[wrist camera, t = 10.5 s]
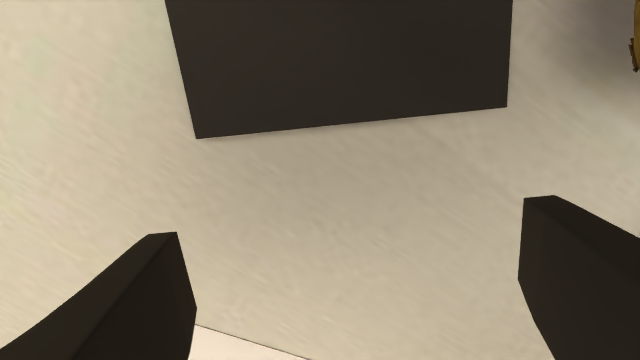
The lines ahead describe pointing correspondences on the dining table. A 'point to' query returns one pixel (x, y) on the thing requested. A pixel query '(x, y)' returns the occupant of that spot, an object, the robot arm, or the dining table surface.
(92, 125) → the dining table surface
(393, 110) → the mat
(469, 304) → the dining table surface
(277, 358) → the napkin holder
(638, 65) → the potato
